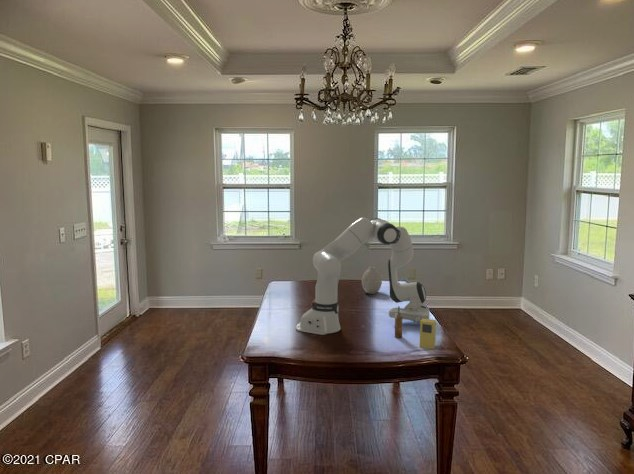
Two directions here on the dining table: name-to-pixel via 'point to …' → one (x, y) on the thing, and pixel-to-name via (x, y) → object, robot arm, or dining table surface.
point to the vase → (371, 280)
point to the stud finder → (427, 333)
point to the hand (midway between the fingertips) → (405, 319)
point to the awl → (398, 324)
